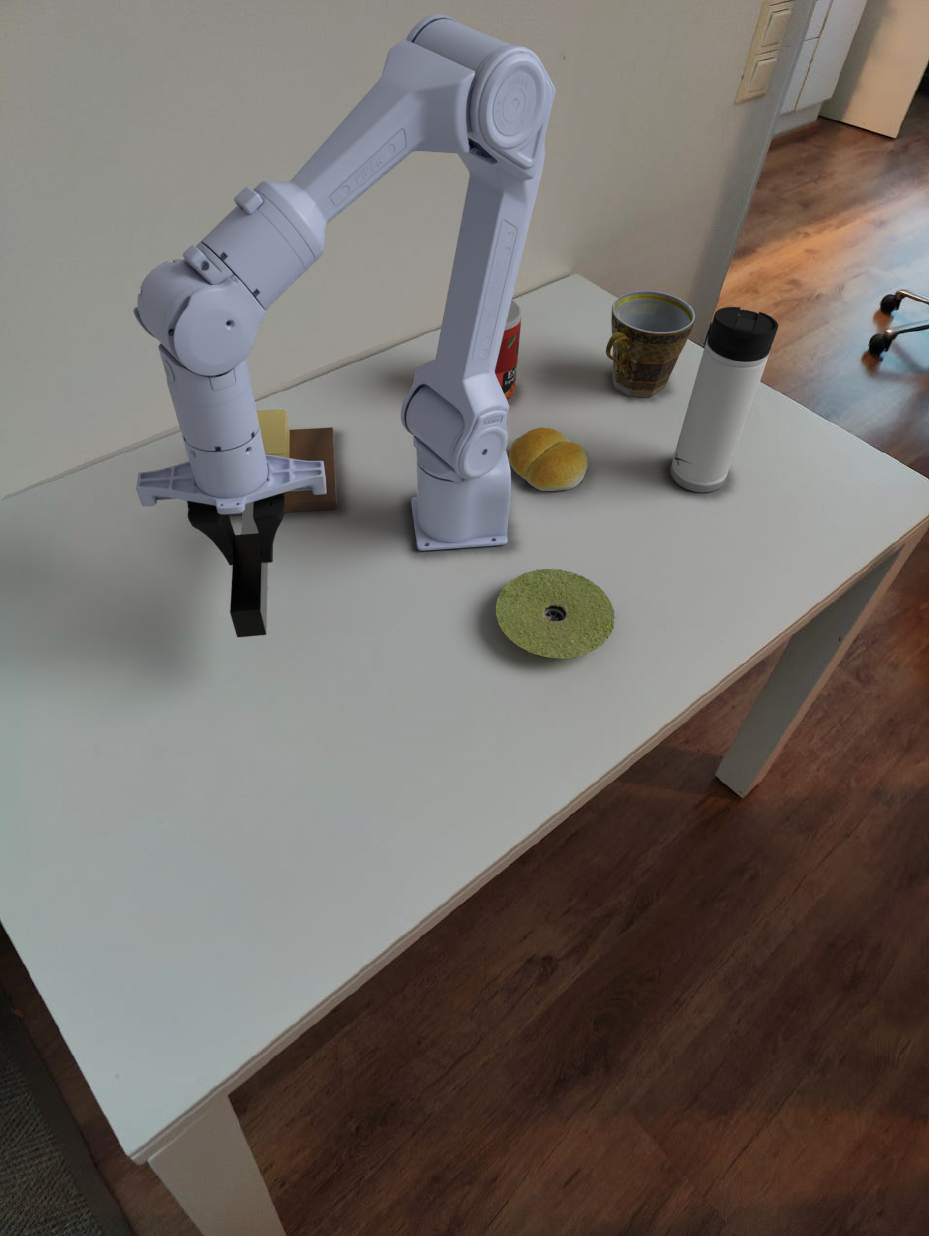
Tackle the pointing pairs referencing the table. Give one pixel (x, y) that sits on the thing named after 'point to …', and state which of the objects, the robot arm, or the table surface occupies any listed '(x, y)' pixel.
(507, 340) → the canned food
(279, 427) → the butter stick
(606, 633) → the green abrasive disc
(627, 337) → the ceramic cup
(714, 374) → the travel mug
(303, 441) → the butter board
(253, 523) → the two-tone black bar
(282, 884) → the table surface
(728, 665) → the table surface
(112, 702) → the table surface
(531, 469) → the bread roll
